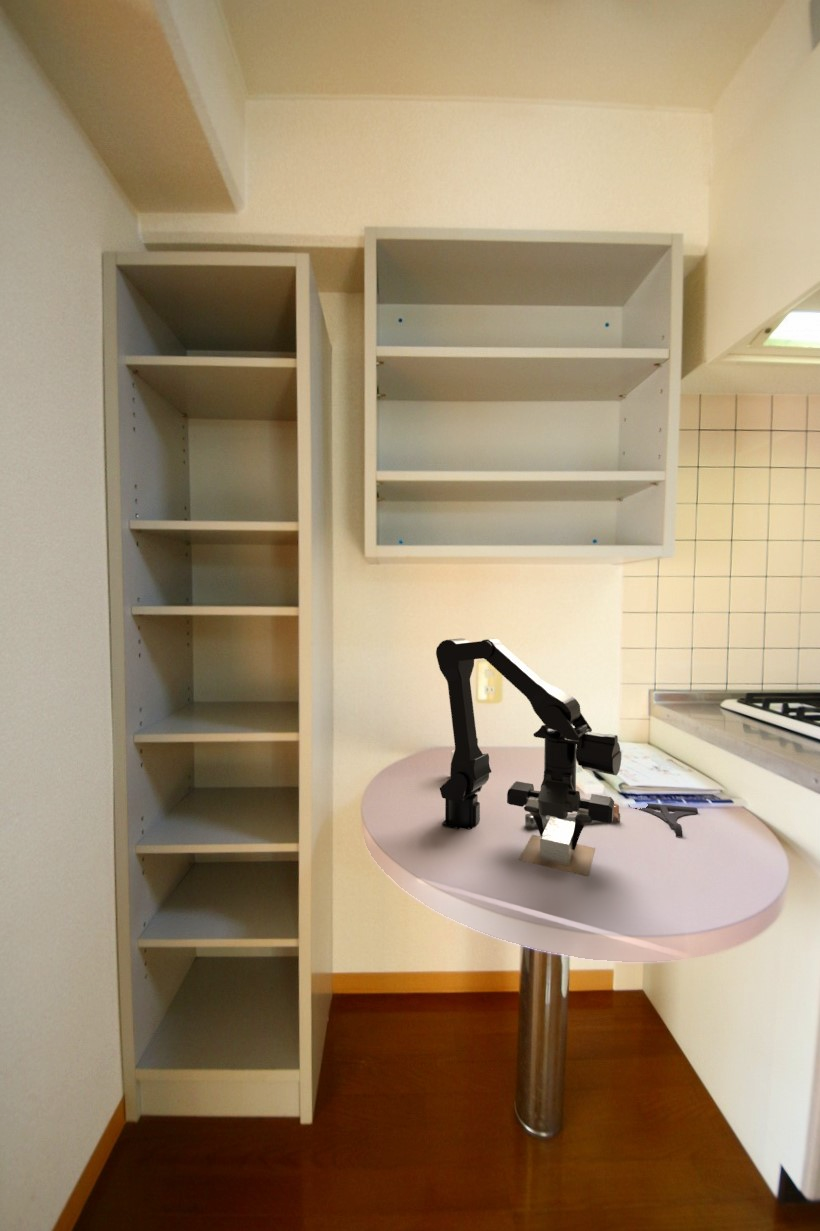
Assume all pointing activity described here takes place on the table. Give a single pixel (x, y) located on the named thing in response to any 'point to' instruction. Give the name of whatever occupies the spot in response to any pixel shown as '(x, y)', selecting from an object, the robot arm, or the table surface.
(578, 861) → the plate
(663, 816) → the bracket
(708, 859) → the table surface
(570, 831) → the stone-textured block
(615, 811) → the lever
